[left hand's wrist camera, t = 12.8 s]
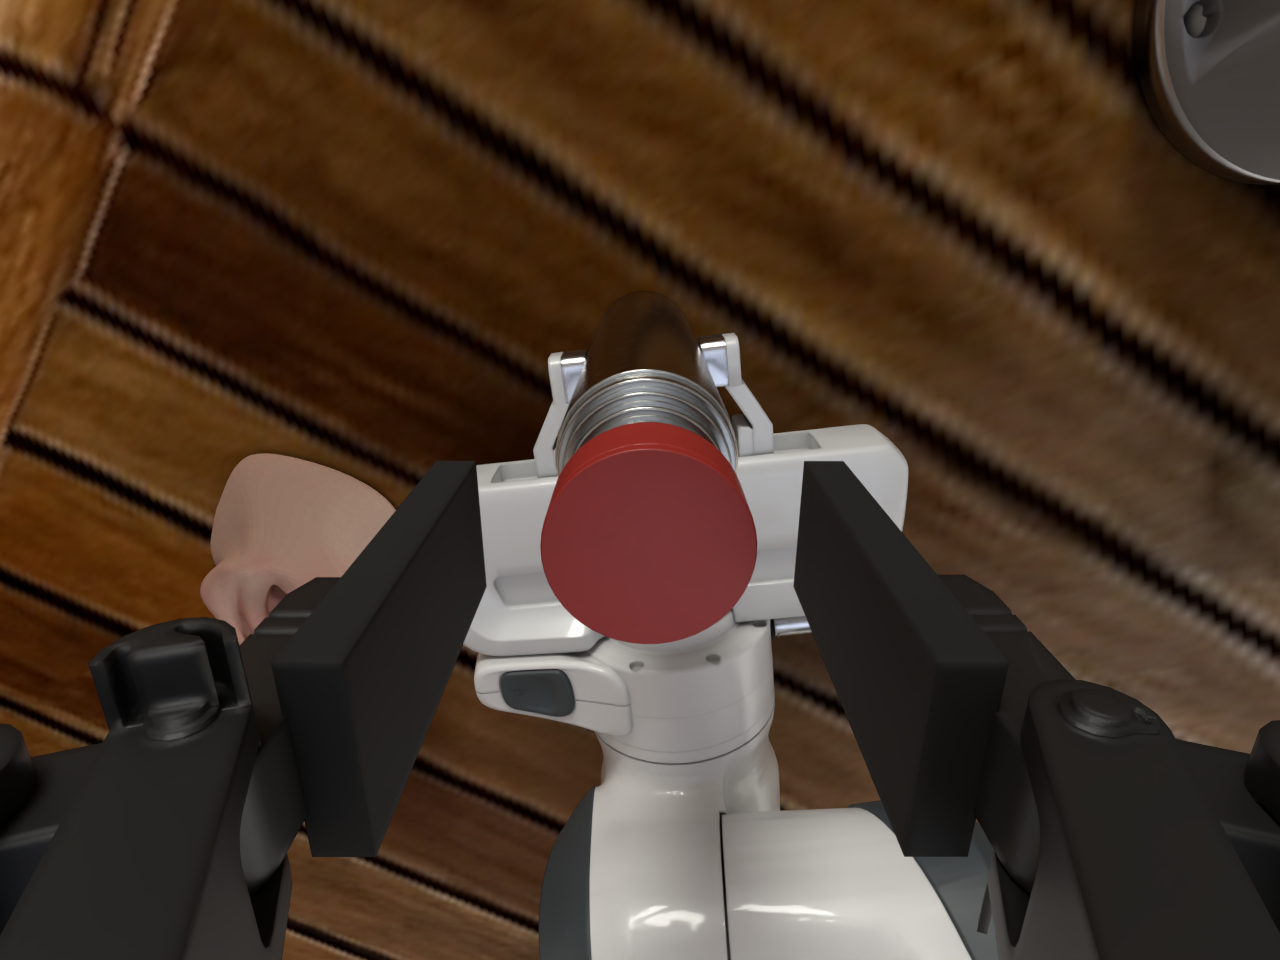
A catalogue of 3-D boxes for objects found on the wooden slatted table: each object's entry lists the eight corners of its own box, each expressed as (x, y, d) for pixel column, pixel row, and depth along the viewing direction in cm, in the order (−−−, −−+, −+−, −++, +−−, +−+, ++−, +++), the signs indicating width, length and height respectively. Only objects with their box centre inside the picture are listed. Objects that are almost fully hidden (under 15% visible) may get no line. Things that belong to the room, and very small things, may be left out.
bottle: (673, 396, 36) (721, 672, 14) (586, 369, 35) (500, 611, 14) (703, 308, 34) (808, 467, 13) (612, 278, 34) (563, 392, 12)
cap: (706, 619, 15) (714, 668, 14) (530, 569, 15) (516, 613, 13) (773, 454, 14) (790, 486, 12) (582, 395, 14) (573, 420, 12)
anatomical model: (144, 475, 33) (395, 487, 33) (195, 449, 36) (420, 459, 37) (194, 713, 37) (413, 722, 38) (234, 668, 41) (434, 676, 41)
